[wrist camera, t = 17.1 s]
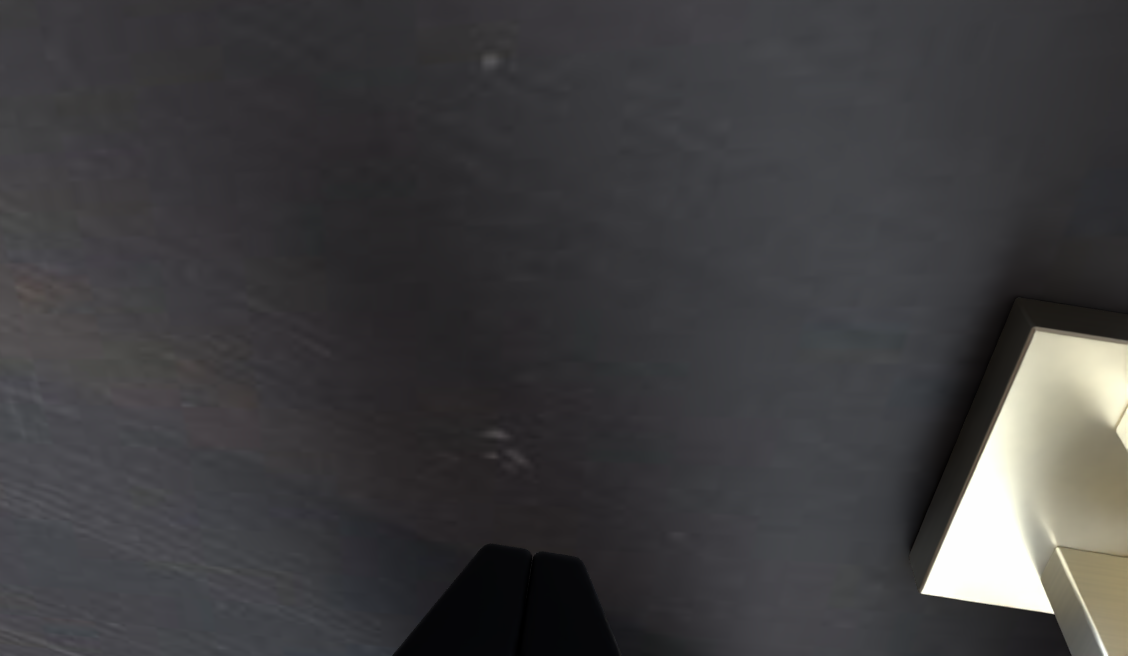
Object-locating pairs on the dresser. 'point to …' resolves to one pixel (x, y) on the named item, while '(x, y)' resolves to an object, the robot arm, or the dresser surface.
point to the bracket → (1041, 480)
